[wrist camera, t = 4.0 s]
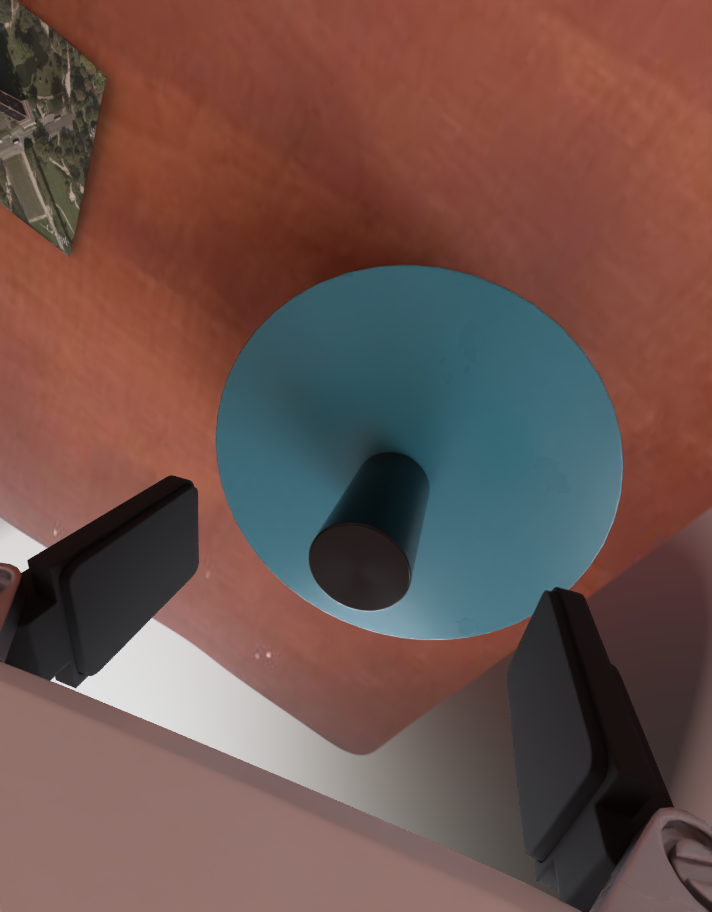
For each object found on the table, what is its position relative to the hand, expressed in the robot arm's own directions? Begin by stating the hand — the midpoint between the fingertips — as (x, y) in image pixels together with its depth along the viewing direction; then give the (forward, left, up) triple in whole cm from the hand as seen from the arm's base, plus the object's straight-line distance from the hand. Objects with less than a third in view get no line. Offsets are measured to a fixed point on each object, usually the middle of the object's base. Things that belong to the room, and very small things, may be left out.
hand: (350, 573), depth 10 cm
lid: (0, 0, -6) cm, 6 cm away
